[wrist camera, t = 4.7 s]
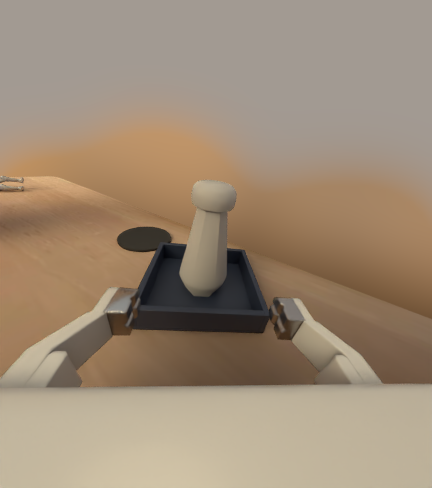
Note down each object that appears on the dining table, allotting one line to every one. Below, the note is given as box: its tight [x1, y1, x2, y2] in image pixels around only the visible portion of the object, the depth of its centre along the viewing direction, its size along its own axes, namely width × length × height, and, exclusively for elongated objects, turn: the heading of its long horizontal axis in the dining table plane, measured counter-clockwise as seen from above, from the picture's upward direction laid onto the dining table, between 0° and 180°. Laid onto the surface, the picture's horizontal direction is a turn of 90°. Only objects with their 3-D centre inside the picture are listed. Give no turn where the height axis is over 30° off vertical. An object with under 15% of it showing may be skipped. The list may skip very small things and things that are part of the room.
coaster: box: [117, 227, 171, 252], centre depth 30 cm, size 9×9×1 cm
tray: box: [133, 242, 269, 333], centre depth 21 cm, size 13×12×3 cm
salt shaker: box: [179, 180, 236, 297], centre depth 18 cm, size 6×6×13 cm
